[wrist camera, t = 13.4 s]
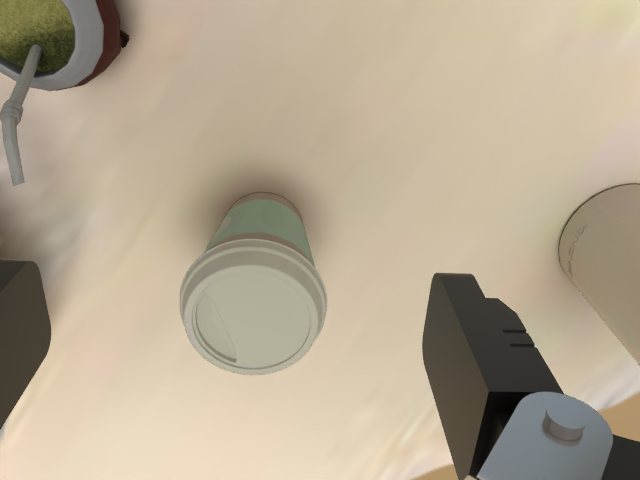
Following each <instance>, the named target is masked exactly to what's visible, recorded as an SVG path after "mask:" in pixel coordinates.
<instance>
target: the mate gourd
mask: <svg viewBox="0 0 640 480" xmlns="http://www.w3.org/2000/svg"><path fill="white" fill-rule="evenodd" d="M128 40H129V36H128V35H127V34H126V33H124V32H123V31H122V30H120V18H119V15H118V12H117V9H116V6H115V3H114V0H0V72H1V73H3V74H5V75H6V76H8V77H10V78H12V79H13V80H15V81H17V83H16V86H15V88H14V90H13V92H12V94H11V97H10V99H9V100H7V101H6V102H5V103H4V105H3V107H2V111H1V114H0V119H1V121H2V131H3V142H4V147H5V151H6V155H7V160H8V164H9V168H10V172H11V177H12V182H13V186H15V185H18V184H21V183H24V177H23V172H22V166H21V160H20V154H19V149H18V143H17V129H16V127H17V124H18V123H19V122H20V121H21V116H22V112H23V108H22V104H23V101H24V99H25V97H26V94H27V92H28V89H29V87H32V88H37V89H42V90H47V91H53V90H56V91H57V90H62V89H67V88H72V87H77V86H81V85H84V84H86V83H88V82H89V81H90V80H92V79H93V78H95V77H96V76H98V75H99V74H100V73H102V72H103V71H105V70H106V68H107V67H108V66H109V65H110V64H111V62H112V61H113V60H114V59H115V58H116V56H117V55H118V54H119V53H120V51H121V47H122V48H124V47H125V46H126V44H127V42H128Z"/></svg>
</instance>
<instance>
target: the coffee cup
mask: <svg viewBox="0 0 640 480" xmlns="http://www.w3.org/2000/svg"><path fill="white" fill-rule="evenodd" d="M326 311H327V294H326V289H325V286H324V283H323V281H322V278H321V277H320V275H319V273H318V272H317V270H316V269H315V266H314V262H313V258H312V255H311V251H310V247H309V244H308V240H307V236H306V233H305V229H304V226H303V222H302V219H301V216H300V214H299V212H298V210H297V209H296V208H295V206H294V205H293V204H292V203H291V202H289V201H288V200H287V199H285V198H283V197H281V196H279V195H276V194H273V193H266V192H259V193H253V194H249V195H246V196H244V197H242V198H241V199H239V200H238V201H236V202H235V203H234V204H233V205H232V207H231V208H230V209H229V211H228V213H227V214H226V216H225V218H224V219H223V221H222V223H221V224H220V226H219V228H218V230H217V231H216V233H215V235H214V236H213V238H212V240H211V242H210V243H209V245H208V247H207V248H206V250H205V252H204V254H203V255H201V256H200V257H199V258H198V259H197V260H196V261H195V262H194V263H193V264H192V266H191V267H190V268H189V270H188V271H187V273H186V275H185V277H184V280H183V282H182V286H181V291H180V313H181V318H182V321H183V324H184V326H185V330H186V333H187V336H188V338H189V340H190V342H191V344H192V345H193V347H194V348H195V349H196V350H197V351H198V353H199V354H200V355H201V356H203V357H204V358H205V359H206V360H208V361H209V362H210V363H212V364H214V365H215V366H217V367H219V368H222V369H224V370H227V371H230V372H233V373H238V374H244V375H263V374H269V373H273V372H277V371H280V370H282V369H285V368H287V367H289V366H291V365H292V364H294V363H295V362H297V361H298V360H300V359H301V358H302V357H303V356H304V355H305V354H306V353H307V352H308V350H309V349H310V347H311V346H312V344H313V342H314V341H315V339H316V338H317V337H318V335H319V333H320V331H321V329H322V327H323V324H324V320H325V316H326Z"/></svg>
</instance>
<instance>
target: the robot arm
mask: <svg viewBox="0 0 640 480" xmlns="http://www.w3.org/2000/svg"><path fill="white" fill-rule="evenodd" d="M559 257H560V262H561V265H562V268H563V270H564V272H565V273H566V275H567V276H568V277H569V279H570V280H571V281H572V282H573V284H574V285H575V286H576V287H577V288H578V290H579V291H580V292H581V293H582V295H583V296H584V297H585V298H586V300H587V301H588V302H589V304H590V305H591V306H592V307H593V309H594V310H595V311H596V312H597V313H598V315H599V316H600V317H601V318H602V320H603V321H604V322H605V323H606V325H607V326H608V327H609V328H610V329H611V331H612V332H613V333H614V334H615V336H616V337H617V338H618V339H619V341H620V342H621V343H622V344H623V345H624V347H625V348H626V349H627V350H628V352H629V353H630V354H631V355H632V357H633V358H634V359H635V360H636V361H637V363H638V364H639V365H640V184H630V185H623V186H618V187H615V188H612V189H609V190H606V191H604V192H602V193H600V194H598V195H596V196H594V197H593V198H591V199H590V200H589V201H587V202H586V203H585V204H584V205H582V206H581V207H580V208H579V209H578V210H577V211H576V213H575V214H574V215H573V216H572V217H571V219H570V220H569V222H568V223H567V225H566V227H565V229H564V231H563V234H562V236H561V239H560V246H559ZM50 340H51V325H50V320H49V315H48V310H47V305H46V300H45V295H44V290H43V285H42V280H41V275H40V271H39V268H38V266H37V264H36V263H35V262H33V261H14V260H0V429H1V428H2V426H3V424H4V423H5V421H6V420H7V418H8V416H9V415H10V413H11V411H12V410H13V408H14V407H15V405H16V403H17V402H18V400H19V399H20V397H21V395H22V394H23V392H24V391H25V389H26V387H27V386H28V384H29V383H30V381H31V379H32V378H33V376H34V375H35V373H36V371H37V370H38V368H39V366H40V365H41V363H42V362H43V360H44V358H45V357H46V355H47V352H48V349H49V346H50ZM422 349H423V360H424V365H425V369H426V372H427V375H428V379H429V382H430V385H431V389H432V392H433V395H434V399H435V402H436V406H437V409H438V412H439V416H440V419H441V422H442V426H443V429H444V432H445V436H446V439H447V442H448V446H449V449H450V453H451V456H452V459H453V463H454V466H455V469H456V473H457V476H458V479H459V480H640V442H638V441H634V440H630V439H626V438H623V437H619V436H616V435H614V434H612V431H611V429H610V427H609V425H608V423H607V422H606V421H605V420H604V418H603V417H602V416H601V415H600V414H599V413H598V412H597V411H596V410H594V409H593V408H592V407H590V406H589V405H587V404H585V403H584V402H582V401H580V400H578V399H576V398H573V397H570V396H568V395H564V393H563V391H562V390H561V388H560V386H559V385H558V383H557V381H556V380H555V378H554V376H553V374H552V373H551V371H550V369H549V368H548V366H547V364H546V363H545V361H544V359H543V358H542V356H541V354H540V352H539V351H538V349H537V348H535V347H534V342H533V341H532V339H531V337H530V336H529V334H528V333H526V329H525V327H524V325H523V324H522V322H521V320H520V319H519V317H518V315H517V314H516V313H515V312H514V311H513V310H512V309H510V308H509V307H508V306H507V305H505V304H504V303H503V302H502V301H500V300H499V299H498V298H485V296H484V294H483V292H482V290H481V289H480V287H479V285H478V283H477V281H476V279H475V277H474V276H473V275H472V274H454V273H436V274H435V275H434V276H433V279H432V283H431V289H430V295H429V301H428V308H427V314H426V320H425V326H424V332H423V343H422Z"/></svg>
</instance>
